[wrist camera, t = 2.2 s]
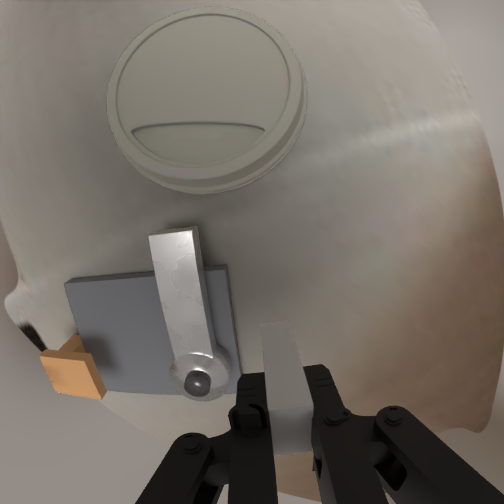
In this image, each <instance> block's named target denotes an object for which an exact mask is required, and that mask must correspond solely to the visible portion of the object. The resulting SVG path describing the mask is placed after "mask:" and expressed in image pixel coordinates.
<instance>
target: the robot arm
mask: <svg viewBox="0 0 504 504" xmlns="http://www.w3.org/2000/svg"><path fill="white" fill-rule="evenodd" d="M261 334H262V346H263V358H264V370H265V372H261V373H250V374H242V375H241V377H240V378H239V380H238V381H237V395H236V396H237V397H236V405H235V406H234V407H233V408H232V409H231V410H230V411H229V414H228V417H229V421H230V426H231V429H230V430H229V431H228V432H226V433H224V434H222V435H219V436H216V437H212V438H207V437H206V436H205V435H203V434H200V433H187V434H183V435H182V436H180V437H178V438H177V439H176V440H175V441H174V443H173V444H172V446H171V447H170V449H169V451H168V452H167V454H166V456H165V457H164V459H163V460H162V462H161V464H160V465H159V467H158V468H157V470H156V472H155V473H154V475H153V476H152V478H151V479H150V481H149V483H148V484H147V486H146V487H145V489H144V490H143V492H142V494H141V495H140V497H139V498H138V500H137V502H136V503H135V504H217V501H218V499H219V496H220V494H221V491H222V489H223V487H224V485H225V484H229V490H228V504H278V496H277V485H276V474H275V464H274V456H276V455H285V454H293V453H301V452H307V451H312V448H313V453H314V458H313V471H315V472H316V477H317V481H318V486H319V491H320V496H321V501H322V504H389V503H388V501H387V498H386V495H385V493H384V490H383V488H384V489H385V490H386V492H387V493H388V494H389V495H390V497H391V498H392V499H393V500H394V502H395V503H396V504H504V495H503V494H502V493H501V492H500V491H499V490H497V489H496V488H495V487H494V486H493V485H492V484H490V483H489V482H488V481H487V480H486V479H485V478H484V477H482V476H481V475H480V474H479V473H478V472H477V471H475V470H474V469H473V468H472V467H471V466H470V465H469V464H468V463H466V462H465V461H464V460H463V459H462V458H461V457H460V456H459V455H457V454H456V453H455V452H454V451H453V450H452V449H450V448H449V447H448V446H447V445H446V444H445V443H444V442H443V441H441V440H440V439H439V438H438V437H437V436H436V435H435V434H434V433H433V432H431V431H430V430H429V429H428V428H427V427H426V426H425V425H424V424H423V423H421V422H420V421H419V420H418V419H417V418H416V417H415V416H414V415H412V414H411V413H410V412H409V411H408V410H406V409H405V408H403V407H400V406H388V407H385V408H383V409H381V410H380V411H379V412H378V413H377V415H376V416H358V415H354V414H352V413H351V412H350V410H348V409H346V408H345V407H344V405H343V403H342V400H341V398H340V395H339V393H338V390H337V388H336V386H335V384H334V381H333V379H332V376H331V374H330V371H329V369H327V368H326V367H325V366H324V365H322V364H319V365H312V366H305V367H303V366H302V363H301V359H300V356H299V352H298V349H297V345H296V342H295V339H294V335H293V332H292V328H291V325H290V322H289V321H281V322H272V323H262V324H261ZM382 487H383V488H382Z"/></svg>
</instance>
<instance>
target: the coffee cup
mask: <svg viewBox="0 0 504 504" xmlns="http://www.w3.org/2000/svg"><path fill="white" fill-rule="evenodd" d="M106 109H107V116H108V121H109V125H110V128H111V130H112V133H113V135H114V138H115V141H116V143H117V145H118V147H119V149H120V151H121V152H122V154H123V155H124V157H125V158H126V159H127V161H128V162H129V163H130V164H131V165H132V166H133V167H134V168H135V169H136V170H137V171H139V172H140V173H141V174H142V175H144V176H145V177H147V178H148V179H150V180H151V181H153V182H155V183H156V184H158V185H160V186H163V187H165V188H168V189H171V190H174V191H178V192H182V193H188V194H215V193H222V192H227V191H231V190H234V189H237V188H240V187H243V186H245V185H247V184H249V183H252V182H253V181H255V180H257V179H259V178H260V177H262V176H264V175H265V174H266V173H268V172H269V171H270V170H272V169H273V168H274V167H275V166H276V165H277V164H279V163H280V162H281V160H282V159H283V158H284V157H285V156H286V155H287V154H288V152H289V151H290V150H291V148H292V147H293V145H294V144H295V142H296V140H297V138H298V136H299V134H300V132H301V129H302V127H303V123H304V120H305V116H306V109H307V84H306V79H305V75H304V71H303V69H302V66H301V64H300V62H299V60H298V58H297V56H296V54H295V53H294V51H293V49H292V48H291V46H290V44H289V43H288V42H287V40H286V39H285V38H284V37H283V36H282V34H281V33H280V32H279V31H278V30H276V29H275V28H274V27H273V26H272V25H270V24H269V23H267V22H266V21H264V20H263V19H261V18H259V17H257V16H255V15H252V14H250V13H247V12H244V11H241V10H237V9H232V8H225V7H201V8H194V9H189V10H185V11H182V12H178V13H175V14H173V15H170V16H168V17H166V18H164V19H162V20H160V21H158V22H156V23H154V24H153V25H151V26H150V27H148V28H147V29H146V30H144V31H143V32H142V33H141V34H140V35H138V36H137V37H136V38H135V39H134V40H133V41H132V42H131V43H130V45H129V46H128V47H127V48H126V49H125V51H124V52H123V54H122V55H121V56H120V58H119V60H118V62H117V64H116V65H115V68H114V70H113V72H112V75H111V77H110V81H109V85H108V89H107V98H106Z"/></svg>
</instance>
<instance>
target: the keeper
mask: <svg viewBox="0 0 504 504" xmlns="http://www.w3.org/2000/svg"><path fill="white" fill-rule="evenodd" d="M39 357H40V359H41V361H42V364H43V365H44V368H45V370H46V372H47V374H48V376H49V378H50V380H51V382H52V384H53V386H54V388H55V390H56V392H60V393H65V394H71V395H77V396H82V397H88V398H95V399H102V398H103V397H104V395H105V393H106V392H107V390H106V388H105V386H104V384H103V381H102V379H101V377H100V375H99V372H98V370H97V367H96V365H95V363H94V360H93V358H92V355H91V353H86V351H85V349H84V346H83V343H82V341H81V338H80V335H75V334H74V335H73V336H72V337H71V338H70V339H69V340H68V341H67V342H66V343H65V344H64V345H63V346H62V347H61V348H60V349H59V350H58V351H56V350H47V349H46V350H45V351H44V352H43V353H42V354H41V355H39Z"/></svg>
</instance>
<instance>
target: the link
mask: <svg viewBox="0 0 504 504" xmlns="http://www.w3.org/2000/svg"><path fill="white" fill-rule="evenodd" d="M148 237H149V243H150V249H151V254H152V260H153V265H154V271H155V276H156V281H157V286H158V291H159V295H160V300H161V304H162V309H163V313H164V317H165V322H166V326H167V330H168V334H169V338H170V341H171V345H172V349H173V353H174V356H175V357H174V360H173V362H172V365H171V367H170V370H169V378H170V382H171V384H172V385H173V387H174V388H175V389H176V390H177V391H178V392H179V393H180V394H182V395H183V396H185V397H187V398H189V399H192V400H197V401H211V400H215V399H217V398H219V397H221V396H222V395H223V394H224V393H225V392H226V391H227V389H228V387H229V379H230V368H231V362H230V358H229V356H228V354H227V353H226V351H225V350H224V349H223V348H222V347H220V346H219V345H217V344H216V339H215V334H214V328H213V323H212V317H211V311H210V305H209V299H208V293H207V287H206V281H205V275H204V268H203V261H202V255H201V248H200V241H199V233H198V226H192V227H184V228H176V229H168V230H160V231H157V232H155V233H153V234H151V235H149V236H148Z"/></svg>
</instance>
